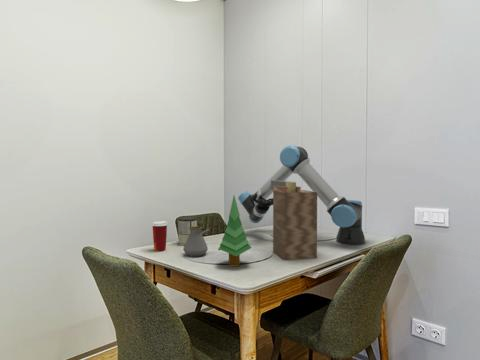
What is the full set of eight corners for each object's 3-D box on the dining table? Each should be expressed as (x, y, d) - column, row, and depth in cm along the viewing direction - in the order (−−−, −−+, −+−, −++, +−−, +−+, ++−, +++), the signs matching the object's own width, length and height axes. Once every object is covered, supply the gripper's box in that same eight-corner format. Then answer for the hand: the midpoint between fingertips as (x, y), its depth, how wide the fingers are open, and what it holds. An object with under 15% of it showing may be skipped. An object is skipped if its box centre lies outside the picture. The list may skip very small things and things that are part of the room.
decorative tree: (209, 264, 143) (209, 193, 142) (239, 258, 153) (239, 192, 152) (228, 272, 133) (228, 196, 132) (258, 264, 142) (258, 194, 141)
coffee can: (181, 241, 188) (181, 216, 188) (199, 241, 187) (199, 216, 187) (175, 245, 178) (175, 219, 178) (195, 246, 177) (194, 219, 176)
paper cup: (170, 249, 170) (170, 221, 170) (161, 252, 163) (161, 223, 163) (158, 247, 173) (158, 220, 173) (148, 251, 166) (148, 222, 166)
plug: (278, 189, 172) (278, 180, 172) (295, 192, 151) (296, 182, 151) (270, 189, 171) (270, 180, 171) (287, 192, 150) (287, 182, 150)
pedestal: (303, 250, 167) (303, 185, 166) (316, 257, 154) (317, 186, 152) (273, 252, 163) (273, 185, 162) (284, 260, 150) (284, 187, 148)
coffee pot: (188, 259, 152) (188, 225, 151) (180, 253, 162) (179, 222, 161) (230, 253, 162) (230, 222, 161) (220, 248, 172) (220, 219, 172)
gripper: (283, 213, 193) (296, 197, 175) (241, 215, 187) (250, 198, 169) (280, 201, 197) (293, 184, 179) (239, 202, 191) (247, 185, 173)
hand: (272, 191), depth 174 cm, fingers open, 13 cm apart
